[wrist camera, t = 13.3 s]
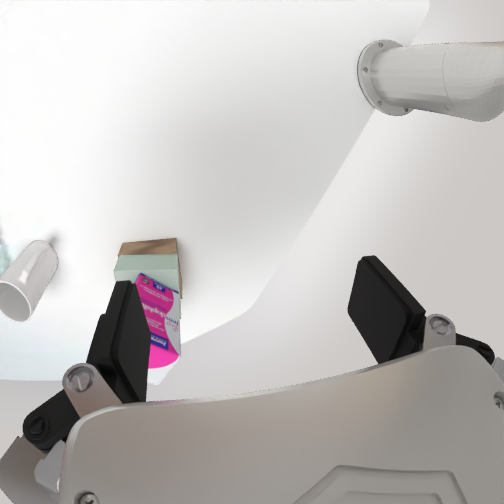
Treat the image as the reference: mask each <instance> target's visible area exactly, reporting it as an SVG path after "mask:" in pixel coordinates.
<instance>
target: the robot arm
mask: <svg viewBox="0 0 504 504" xmlns="http://www.w3.org/2000/svg"><path fill="white" fill-rule="evenodd" d="M363 70H364V71H363ZM358 77H359V82H360V86H361V88H362V90H363V93H364V94H365V96H366V98H367V99H368V101H369V102H370V103H371V104H372V105H373V106H374V107H375V108H376V109H378V110H379V111H381V112H383V113H385V114H388V115H394V116H402V115H405V114H408V113H409V112H411V111H412V110H413V109H418V110H424V111H430V112H436V113H441V114H447V115H451V116H456V117H460V118H465V119H468V120H473V121H478V122H484V121H490V120H492V119H494V118H496V117H497V116H498V115H500V114H501V113H502V112H503V111H504V42H483V43H441V44H426V45H414V46H405V47H403V46H402V45H401V44H399V43H397V42H394V41H390V40H379V41H375V42H373V43H371V44H369V45H368V46H367V47H366V48H365V49H364V50H363V52H362V54H361V56H360V59H359V63H358ZM425 313H426V311H425V309H424V308H423V307H422V306H421V305H420V304H419V303H418V301H417V300H416V299H415V298H414V297H413V296H412V295H411V294H410V292H409V291H408V290H407V289H406V288H405V287H404V286H403V285H402V283H401V282H400V281H399V280H398V279H397V278H396V277H395V276H394V275H393V274H392V273H391V272H390V270H388V268H387V267H386V266H385V265H384V264H383V263H382V262H381V261H380V260H379V259H378V258H377V257H376V256H374V255H373V256H364V257H362V259H361V260H360V261H359V262H358V264H357V269H356V274H355V278H354V283H353V287H352V292H351V296H350V300H349V305H348V314H349V316H350V318H351V319H352V321H353V322H354V324H355V326H356V327H357V329H358V330H359V332H360V334H361V336H362V337H363V339H364V340H365V342H366V344H367V345H368V347H369V349H370V350H371V352H372V354H373V356H374V357H375V359H376V361H377V362H378V365H374V366H371V367H368V368H364V369H360V370H357V371H353V372H349V373H345V374H341V375H337V376H333V377H329V378H324V379H320V380H315V381H311V382H306V383H302V384H296V385H291V386H286V387H280V388H275V389H268V390H262V391H255V392H249V393H242V394H234V395H225V396H216V397H205V398H195V399H181V400H167V401H149V402H146V391H147V378H148V367H149V356H150V347H151V332H150V329H149V326H148V322H147V319H146V316H145V313H144V310H143V306H142V303H141V299H140V296H139V292H138V289H137V286H136V284H135V283H132V282H131V281H130V280H124V281H117V282H116V284H115V287H114V289H113V292H112V295H111V298H110V301H109V304H108V307H107V310H106V313H105V314H102V315H101V316H100V318H99V321H98V324H97V327H96V330H95V333H94V337H93V340H92V343H91V347H90V350H89V354H88V357H87V361H86V363H80V364H76V365H74V366H72V367H71V368H69V369H68V370H67V371H66V373H65V374H64V377H63V380H62V385H63V388H64V389H63V390H62V391H60V392H59V393H57V394H56V395H55V396H53V397H52V398H50V399H49V400H48V401H46V402H45V403H43V404H42V405H41V406H39V407H38V408H36V409H35V410H34V411H32V412H31V413H30V414H29V415H28V416H27V417H26V418H25V420H24V423H23V433H24V434H23V436H22V437H21V438H20V437H19V436H17V438H16V439H15V440H14V442H13V443H12V444H11V446H10V447H9V449H8V450H7V451H6V453H5V454H4V456H3V457H2V458H1V460H0V488H1V490H2V491H3V492H4V493H5V494H6V496H7V497H8V498H9V499H10V500H11V501H12V502H13V503H14V504H504V360H502V359H501V358H499V357H497V358H496V359H495V356H494V352H493V350H492V349H491V348H490V347H489V346H488V345H487V344H485V343H483V342H481V341H478V340H475V339H472V338H469V337H466V336H463V335H460V334H457V333H456V332H455V326H454V324H453V322H452V321H451V320H450V319H448V318H447V317H446V316H443V315H440V314H432V315H430V316H428V317H427V318H426V316H425ZM59 477H60V481H59V493H58V490H57V481H58V479H59Z"/></svg>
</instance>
